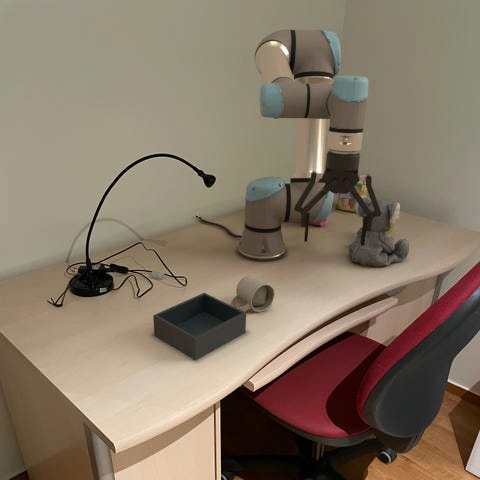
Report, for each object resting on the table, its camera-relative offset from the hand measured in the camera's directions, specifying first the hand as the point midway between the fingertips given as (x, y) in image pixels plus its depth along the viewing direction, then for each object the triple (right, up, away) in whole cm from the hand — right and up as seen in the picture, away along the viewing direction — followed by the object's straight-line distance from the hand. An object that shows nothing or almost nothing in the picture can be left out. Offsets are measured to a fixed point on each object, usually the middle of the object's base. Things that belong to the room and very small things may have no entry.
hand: (333, 242), depth 126 cm
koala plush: (+20, +1, +40) cm, 44 cm away
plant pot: (+27, +10, +55) cm, 62 cm away
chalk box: (+22, +26, +83) cm, 89 cm away
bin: (-32, -22, -2) cm, 39 cm away
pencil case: (-1, +18, +69) cm, 71 cm away
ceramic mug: (-20, -16, +10) cm, 27 cm away
